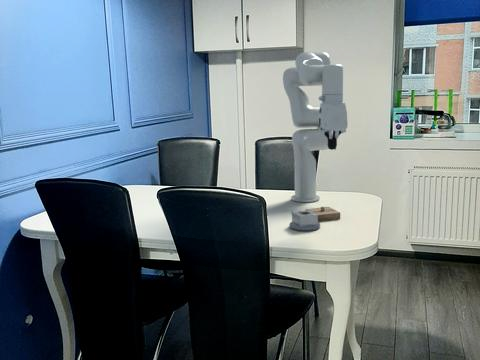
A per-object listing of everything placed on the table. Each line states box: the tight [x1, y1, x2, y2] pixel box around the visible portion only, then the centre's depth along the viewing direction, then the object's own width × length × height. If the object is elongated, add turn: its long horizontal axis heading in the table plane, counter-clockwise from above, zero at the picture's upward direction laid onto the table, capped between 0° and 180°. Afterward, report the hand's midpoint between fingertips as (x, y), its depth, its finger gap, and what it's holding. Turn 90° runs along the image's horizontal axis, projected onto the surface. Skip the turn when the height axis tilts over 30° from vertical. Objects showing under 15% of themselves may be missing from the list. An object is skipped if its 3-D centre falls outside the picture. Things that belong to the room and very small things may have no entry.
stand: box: [305, 206, 341, 222], centre depth 187 cm, size 10×10×4 cm
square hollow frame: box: [291, 209, 319, 227], centre depth 175 cm, size 7×7×4 cm
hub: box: [289, 221, 321, 232], centre depth 175 cm, size 11×11×4 cm
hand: (332, 149), depth 179 cm, fingers closed
